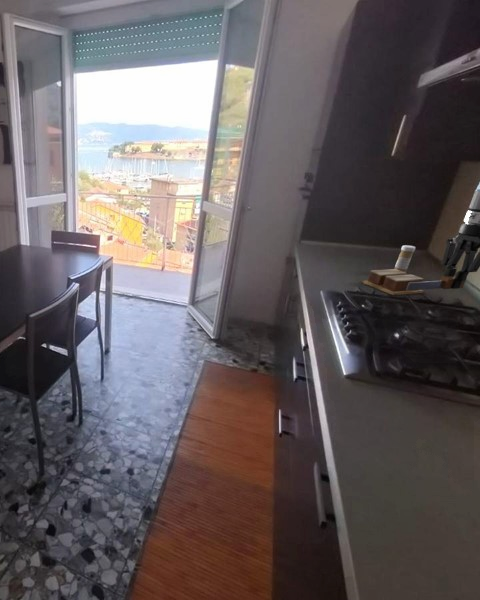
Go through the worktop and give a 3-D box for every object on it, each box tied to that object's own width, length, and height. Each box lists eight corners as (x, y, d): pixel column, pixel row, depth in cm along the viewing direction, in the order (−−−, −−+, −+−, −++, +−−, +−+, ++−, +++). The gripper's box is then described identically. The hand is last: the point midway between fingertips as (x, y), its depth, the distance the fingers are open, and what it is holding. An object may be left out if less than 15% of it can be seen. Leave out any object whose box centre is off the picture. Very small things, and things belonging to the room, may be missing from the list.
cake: (422, 293, 144) (428, 279, 142) (392, 295, 142) (398, 281, 140) (390, 281, 157) (395, 268, 155) (362, 282, 155) (367, 269, 153)
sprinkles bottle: (395, 272, 168) (406, 244, 162) (406, 275, 164) (418, 246, 159) (390, 273, 166) (400, 245, 161) (401, 276, 162) (412, 248, 157)
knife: (455, 285, 135) (459, 275, 133) (462, 288, 133) (466, 277, 131) (403, 289, 132) (406, 279, 130) (409, 291, 129) (413, 281, 128)
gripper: (444, 220, 130) (420, 280, 140) (495, 228, 116) (465, 295, 126) (461, 219, 131) (436, 279, 141) (514, 228, 117) (482, 293, 127)
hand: (450, 286), depth 133 cm, fingers closed on knife, 2 cm apart
